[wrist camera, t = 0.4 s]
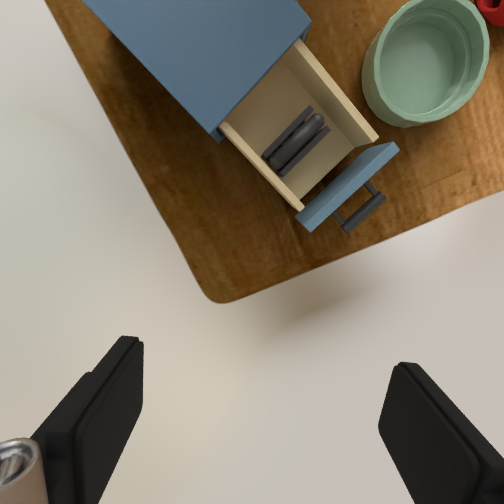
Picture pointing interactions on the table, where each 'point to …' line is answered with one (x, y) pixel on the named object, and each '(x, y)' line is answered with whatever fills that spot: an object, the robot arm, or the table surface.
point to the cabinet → (206, 46)
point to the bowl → (425, 62)
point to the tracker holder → (492, 11)
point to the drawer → (324, 153)
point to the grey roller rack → (296, 142)
